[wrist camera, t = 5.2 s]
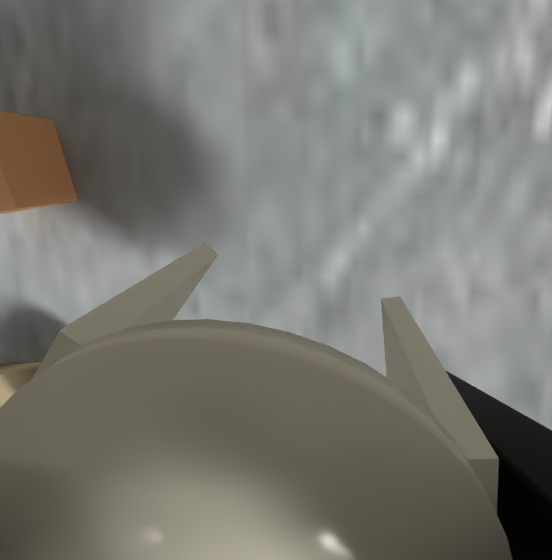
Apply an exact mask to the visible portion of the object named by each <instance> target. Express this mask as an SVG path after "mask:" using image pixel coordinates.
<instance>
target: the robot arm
mask: <svg viewBox="0 0 552 560" xmlns="http://www.w3.org/2000/svg"><path fill="white" fill-rule="evenodd" d="M446 373H447V374H448V376H449V378H450V379H451V381H452V383H453V384H454V386H455V387H456V389H457V391H458V392H459V394H460V396H461V397H462V399H463V401H464V402H465V404H466V406H467V407H468V409H469V410H470V412H471V414H472V415H473V417H474V419H475V420H476V422H477V424H478V425H479V427H480V429H481V430H482V432H483V433H484V435H485V437H486V438H487V440H488V442H489V443H490V445H491V447H492V448H493V450H494V452H495V453H496V455H497V456H498V458H499V466H498V496H497V516H498V518H499V521H500V523H501V525H502V527H503V529H504V532H505V534H506V536H507V539H508V543H509V547H510V551H511V555H512V559H513V560H552V430H550V429H548V428H546V427H545V426H543V425H541V424H539V423H538V422H536V421H534V420H532V419H530V418H529V417H527V416H525V415H523V414H522V413H520V412H518V411H516V410H514V409H513V408H511V407H509V406H507V405H506V404H504V403H502V402H500V401H499V400H497V399H495V398H493V397H491V396H490V395H488V394H486V393H484V392H483V391H481V390H479V389H477V388H476V387H474V386H472V385H470V384H468V383H467V382H465V381H463V380H461V379H460V378H458V377H456V376H454V375H453V374H451V373H449V372H447V371H446Z"/></svg>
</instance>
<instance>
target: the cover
mask: <svg viewBox="0 0 552 560" xmlns="http://www.w3.org/2000/svg"><path fill="white" fill-rule="evenodd" d="M217 256H218V253H216V252H215V251H214V250H212V249H211V248H210V247H208V246H207V245H205V244H204V243H203V244H202V245H200V246H198V247H197V248H195V249H193V250H192V251H190V252H188V253H187V254H185V255H183V256H182V257H180V258H178V259H177V260H175V261H173V262H172V263H170V264H168V265H167V266H165V267H163V268H162V269H160V270H159V271H157V272H155V273H154V274H152V275H150V276H149V277H147V278H145V279H144V280H142V281H140V282H139V283H137V284H135V285H134V286H132V287H130V288H129V289H127V290H125V291H124V292H122V293H120V294H119V295H117V296H115V297H114V298H112V299H110V300H109V301H107V302H105V303H104V304H102V305H100V306H99V307H97V308H95V309H94V310H92V311H90V312H89V313H87V314H85V315H84V316H82V317H80V318H79V319H77V320H76V321H74V322H72V323H71V324H69V325H67V326H66V327H64V328H62V329H61V330H59V331H58V333H57V335H56V337H55V339H54V340H53V342H52V344H51V346H50V348H49V349H48V351H47V353H46V355H45V357H44V359H43V360H42V362H41V364H40V366H39V368H38V369H37V371H36V373H35V375H34V377H33V378H32V380H31V381H29V382H28V383H26V384H25V385H24V386H22V387H21V388H19V389H18V390H17V391H16V392H15V393H14V394H13V395H12V396H11V397H10V398H9V399H8V400H7V401H6V402H5V403H4V404H3V405H2V406H1V407H0V560H513V559H512V555H511V551H510V547H509V543H508V539H507V536H506V534H505V532H504V529H503V527H502V525H501V523H500V521H499V518H498V516H497V496H498V466H499V458H498V456H497V455H496V453H495V452H494V450H493V448H492V447H491V445H490V443H489V442H488V440H487V438H486V437H485V435H484V433H483V432H482V430H481V429H480V427H479V425H478V424H477V422H476V420H475V419H474V417H473V415H472V414H471V412H470V410H469V409H468V407H467V406H466V404H465V402H464V401H463V399H462V397H461V396H460V394H459V392H458V391H457V389H456V387H455V386H454V384H453V383H452V381H451V379H450V378H449V376H448V374H447V373H446V371H445V369H444V368H443V366H442V364H441V363H440V361H439V360H438V358H437V356H436V355H435V353H434V351H433V350H432V348H431V346H430V345H429V343H428V341H427V340H426V338H425V337H424V335H423V333H422V332H421V330H420V328H419V327H418V325H417V323H416V322H415V320H414V318H413V317H412V315H411V314H410V312H409V310H408V309H407V307H406V305H405V304H404V302H403V300H402V299H401V297H392V298H381V306H382V320H383V334H384V348H385V362H386V376H387V377H385V376H384V375H382V374H381V373H379V372H378V371H376V370H374V369H373V368H371V367H370V366H368V365H367V364H365V363H363V362H361V361H359V360H357V359H355V358H353V357H350V356H348V355H346V354H344V353H342V352H340V351H338V350H336V349H334V348H332V347H330V346H328V345H325V344H322V343H319V342H316V341H313V340H310V339H307V338H304V337H302V336H299V335H296V334H293V333H290V332H286V331H282V330H277V329H272V328H268V327H263V326H259V325H254V324H250V323H241V322H230V321H220V320H209V319H205V320H173V319H174V318H175V316H176V315H177V313H178V312H179V311H180V309H181V308H182V306H183V305H184V303H185V302H186V300H187V299H188V298H189V296H190V295H191V293H192V292H193V290H194V289H195V287H196V286H197V285H198V283H199V282H200V280H201V279H202V277H203V276H204V274H205V273H206V272H207V270H208V269H209V267H210V266H211V264H212V263H213V261H214V260H215V259H216V257H217Z"/></svg>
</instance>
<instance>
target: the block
mask: <svg viewBox="0 0 552 560" xmlns="http://www.w3.org/2000/svg"><path fill="white" fill-rule="evenodd" d="M77 200H78V198H77V195H76V192H75V189H74V185H73V182H72V179H71V176H70V173H69V170H68V167H67V163H66V160H65V157H64V154H63V151H62V148H61V145H60V141H59V138H58V135H57V132H56V129H55V126H54V123H53V120H50V119H45V118H39V117H34V116H28V115H22V114H17V113H11V112H6V111H0V214H2V213H9V212H16V211H22V210H27V209H33V208H38V207H44V206H49V205H55V204H61V203H66V202H72V201H77Z"/></svg>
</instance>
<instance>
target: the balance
mask: <svg viewBox="0 0 552 560" xmlns="http://www.w3.org/2000/svg"><path fill="white" fill-rule="evenodd" d="M40 364H41V362H33V363H20V364H7V365H0V407H1V406H2V405H3V404H4V403H5V402H6V401H7V400H8V399H9V398H10V397H11V396H12V395H13V394H14V393H15V392H16V391H17V390H18V389H19V388H21V387H22V386H24V385H25V384H26V383H28V382H29V381H31V380H32V378H33V377H34V375H35V373H36V371H37V369H38V368H39V366H40Z"/></svg>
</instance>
